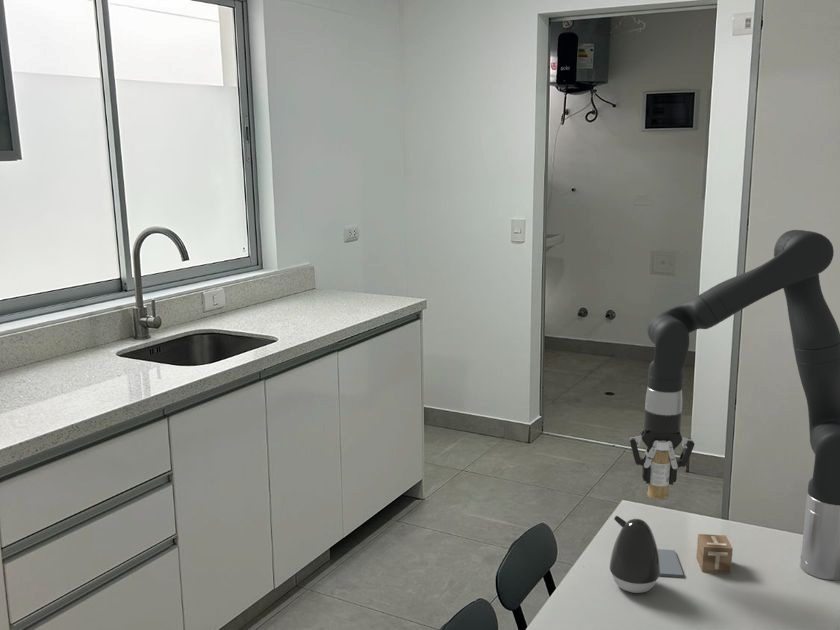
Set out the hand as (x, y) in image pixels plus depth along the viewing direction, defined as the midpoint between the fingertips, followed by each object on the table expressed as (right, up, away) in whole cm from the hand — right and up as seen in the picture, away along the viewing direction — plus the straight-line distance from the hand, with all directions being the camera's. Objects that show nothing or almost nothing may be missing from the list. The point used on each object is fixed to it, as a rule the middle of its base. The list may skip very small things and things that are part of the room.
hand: (658, 482), depth 178 cm
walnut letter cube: (+13, -19, +3) cm, 23 cm away
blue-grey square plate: (0, -19, +4) cm, 19 cm away
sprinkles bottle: (0, -3, +1) cm, 3 cm away
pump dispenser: (-7, -21, -5) cm, 23 cm away
